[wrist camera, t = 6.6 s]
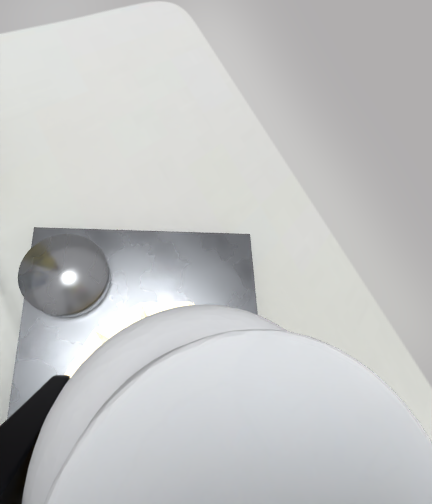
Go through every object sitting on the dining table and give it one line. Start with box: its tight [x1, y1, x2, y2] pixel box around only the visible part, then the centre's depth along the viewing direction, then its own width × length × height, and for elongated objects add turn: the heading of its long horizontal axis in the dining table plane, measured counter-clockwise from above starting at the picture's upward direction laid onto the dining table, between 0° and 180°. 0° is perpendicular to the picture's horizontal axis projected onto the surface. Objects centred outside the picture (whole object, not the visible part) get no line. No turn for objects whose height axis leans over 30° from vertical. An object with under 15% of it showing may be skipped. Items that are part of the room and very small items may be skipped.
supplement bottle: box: [22, 304, 432, 504], centre depth 9 cm, size 7×7×13 cm
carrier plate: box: [7, 227, 258, 419], centre depth 19 cm, size 19×15×3 cm
